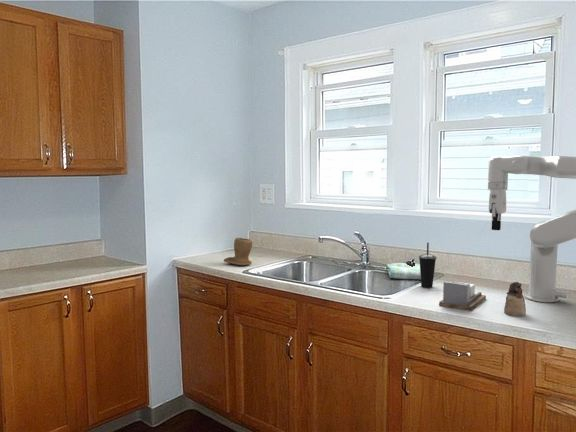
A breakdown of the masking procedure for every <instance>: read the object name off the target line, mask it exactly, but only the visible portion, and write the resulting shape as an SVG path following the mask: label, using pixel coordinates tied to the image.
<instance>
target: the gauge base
mask: <svg viewBox="0 0 576 432" xmlns="http://www.w3.org/2000/svg"><path fill="white" fill-rule="evenodd" d="M486 298H487V295H484V294H482V292H481V291H478V292H476V293H475V294H474V296H473V297H471V298H470V299H469V305H468V306H461V305H455V304H449V303H443V299H442V300H440V301H439V302H438V305H439V306H440V307H444V308H451V309H456V310H461V311H463V310H464V311H469V312H472V311H473V310H474V309H475V308H477V307H478V306H479V305H480V304H482V303H483V302H484V301H486ZM439 306H438V307H439Z"/></svg>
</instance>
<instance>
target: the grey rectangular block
mask: <svg viewBox="0 0 576 432" xmlns="http://www.w3.org/2000/svg"><path fill="white" fill-rule="evenodd" d="M459 282H460V281H459ZM459 282H457V281H451V280H450V281H449V280H445V281H443V288H442V291H443V293H442V294H443V295H442V300H443V303H449V304H455V305H461V306H468V305H469V297H470V284H471V283H469V284H466V282H461V283H459Z"/></svg>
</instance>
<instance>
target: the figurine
mask: <svg viewBox="0 0 576 432" xmlns="http://www.w3.org/2000/svg"><path fill="white" fill-rule="evenodd" d="M503 309H504V310H503V313H504V314H505V315H507V316H510V317H518V318H519V317H520V318H521V317H525V316H526V314H527V309H526V298H525V297H524V295H523V288H522V283H521V282H519V281H514V282H511V283H510V284H509V288H508V291H507V292H506V297H505V304H504V308H503Z"/></svg>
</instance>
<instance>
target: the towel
mask: <svg viewBox="0 0 576 432" xmlns="http://www.w3.org/2000/svg"><path fill="white" fill-rule="evenodd" d="M406 263H407V262H393V263H387V264H386V266H387V268H388V269H387V274H388V276H389V278H390V279H396V280H415V281H416V280H417V281H421V274H420V263H415V266H413V267H411V266H409V265H407V264H406Z"/></svg>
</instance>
